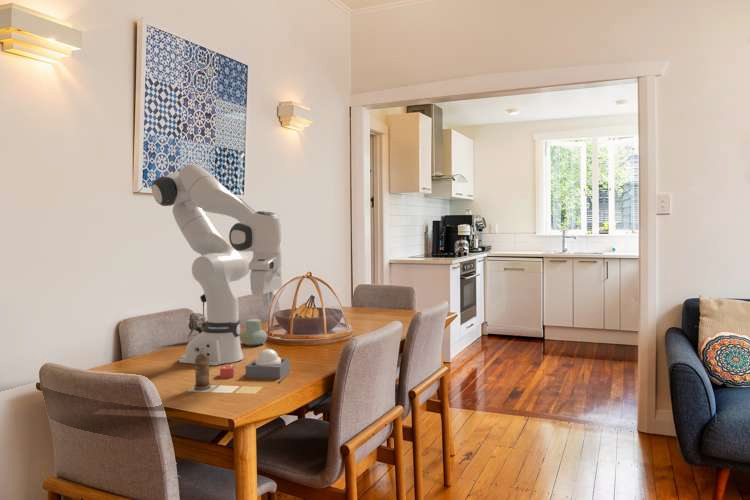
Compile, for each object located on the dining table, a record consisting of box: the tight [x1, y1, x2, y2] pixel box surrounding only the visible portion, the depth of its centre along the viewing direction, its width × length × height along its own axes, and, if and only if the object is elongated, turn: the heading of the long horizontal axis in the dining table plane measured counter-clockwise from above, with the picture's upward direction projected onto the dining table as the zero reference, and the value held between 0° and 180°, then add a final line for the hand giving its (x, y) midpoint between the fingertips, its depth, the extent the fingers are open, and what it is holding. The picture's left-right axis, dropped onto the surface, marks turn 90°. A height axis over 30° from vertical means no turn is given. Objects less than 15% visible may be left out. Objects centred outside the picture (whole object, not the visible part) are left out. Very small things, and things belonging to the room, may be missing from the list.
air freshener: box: [239, 318, 268, 347], centre depth 232 cm, size 11×8×10 cm
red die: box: [219, 364, 236, 379], centre depth 178 cm, size 4×4×4 cm
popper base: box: [245, 357, 291, 384], centre depth 181 cm, size 11×11×5 cm
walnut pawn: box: [193, 353, 212, 391], centre depth 164 cm, size 5×5×10 cm
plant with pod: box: [187, 293, 207, 339], centre depth 238 cm, size 8×11×20 cm
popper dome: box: [254, 348, 282, 366], centre depth 181 cm, size 8×8×6 cm
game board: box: [187, 384, 263, 395], centre depth 164 cm, size 21×9×1 cm, turn 83°
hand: (267, 305), depth 180 cm, fingers closed
